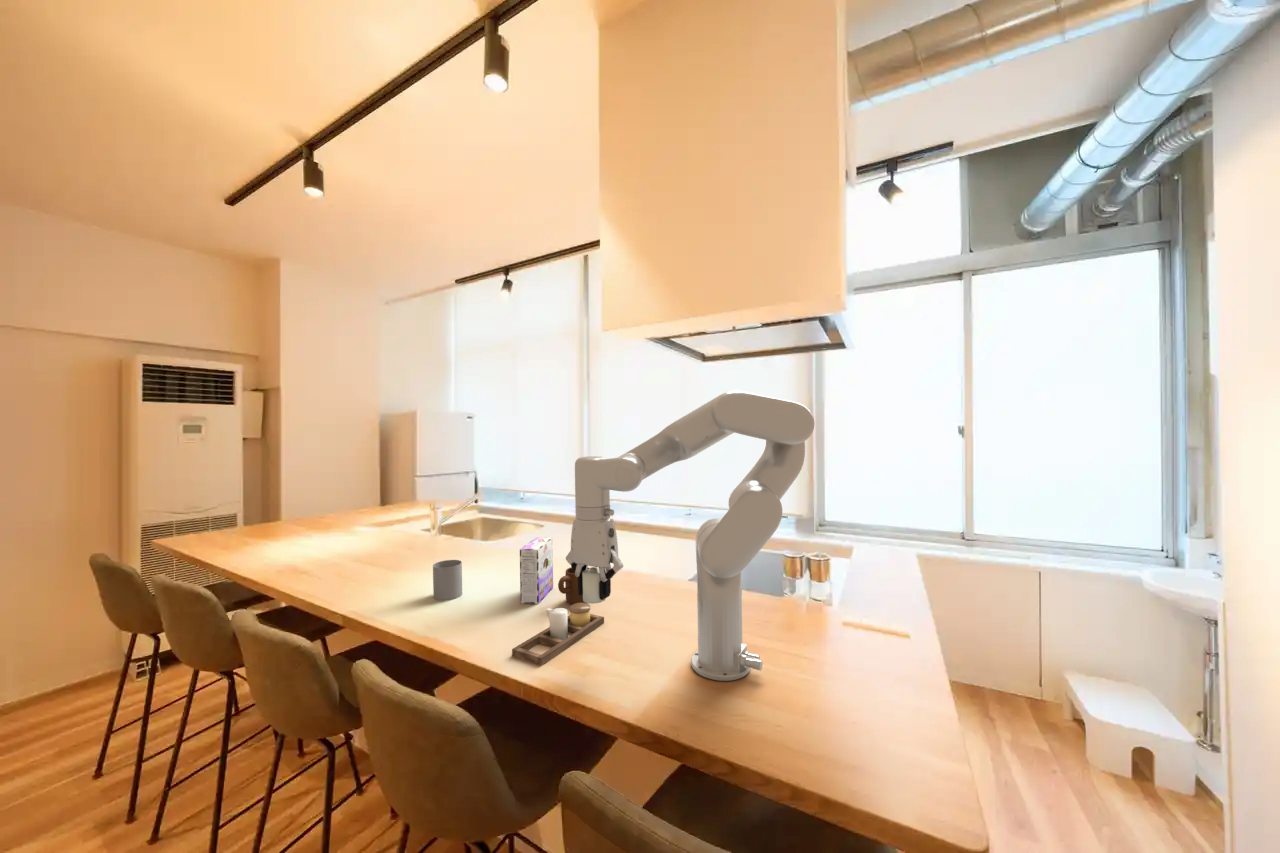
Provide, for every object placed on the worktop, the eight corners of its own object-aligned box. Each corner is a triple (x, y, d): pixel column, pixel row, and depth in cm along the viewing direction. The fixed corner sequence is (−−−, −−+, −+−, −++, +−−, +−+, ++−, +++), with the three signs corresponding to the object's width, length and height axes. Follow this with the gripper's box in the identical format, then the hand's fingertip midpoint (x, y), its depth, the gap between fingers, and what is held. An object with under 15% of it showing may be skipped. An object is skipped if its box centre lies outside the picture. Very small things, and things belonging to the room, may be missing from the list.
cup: (455, 600, 141) (454, 567, 141) (428, 601, 141) (427, 568, 141) (466, 590, 149) (465, 559, 149) (440, 591, 149) (440, 559, 149)
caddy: (604, 622, 123) (604, 616, 123) (541, 665, 102) (541, 658, 102) (577, 616, 128) (577, 610, 128) (512, 655, 107) (512, 649, 107)
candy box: (536, 587, 151) (535, 536, 151) (553, 587, 150) (552, 537, 150) (519, 603, 137) (518, 548, 137) (538, 604, 137) (537, 548, 136)
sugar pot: (610, 597, 103) (609, 566, 103) (597, 605, 99) (596, 573, 99) (591, 593, 106) (591, 563, 106) (578, 601, 101) (577, 569, 101)
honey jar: (594, 624, 123) (594, 604, 123) (582, 632, 118) (582, 612, 118) (578, 620, 125) (578, 601, 125) (565, 628, 121) (565, 608, 121)
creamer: (571, 635, 116) (570, 610, 116) (559, 643, 112) (559, 616, 112) (554, 631, 119) (553, 605, 119) (542, 638, 115) (541, 612, 115)
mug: (569, 613, 130) (568, 580, 130) (549, 608, 134) (549, 575, 134) (596, 599, 140) (596, 568, 140) (577, 594, 144) (576, 564, 144)
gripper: (634, 513, 101) (636, 596, 101) (572, 507, 110) (573, 584, 110) (616, 519, 95) (617, 608, 95) (551, 512, 103) (552, 594, 103)
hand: (594, 594), depth 102 cm, fingers closed on sugar pot, 5 cm apart
